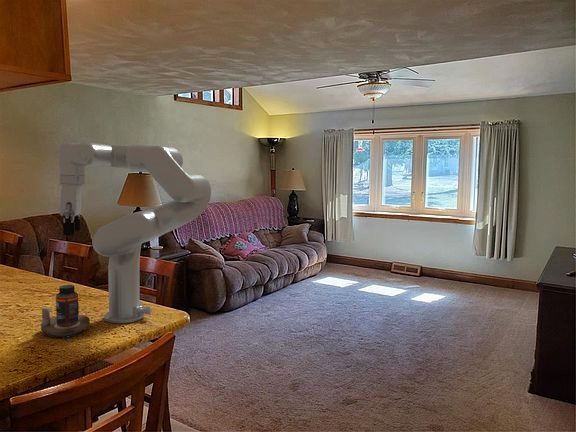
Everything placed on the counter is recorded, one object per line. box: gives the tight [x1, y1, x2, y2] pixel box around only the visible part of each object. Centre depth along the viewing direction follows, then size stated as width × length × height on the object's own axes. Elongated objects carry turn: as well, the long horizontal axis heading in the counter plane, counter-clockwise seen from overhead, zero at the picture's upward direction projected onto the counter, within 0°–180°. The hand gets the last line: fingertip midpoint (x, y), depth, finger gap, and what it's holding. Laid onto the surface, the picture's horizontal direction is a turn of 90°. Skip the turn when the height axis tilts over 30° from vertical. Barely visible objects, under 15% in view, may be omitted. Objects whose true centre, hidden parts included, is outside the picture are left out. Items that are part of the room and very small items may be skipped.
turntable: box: [40, 307, 91, 334], centre depth 132 cm, size 13×13×6 cm
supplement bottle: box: [55, 284, 80, 326], centre depth 130 cm, size 6×6×11 cm
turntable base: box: [46, 329, 85, 343], centre depth 131 cm, size 10×13×1 cm
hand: (72, 232), depth 146 cm, fingers open, 9 cm apart
